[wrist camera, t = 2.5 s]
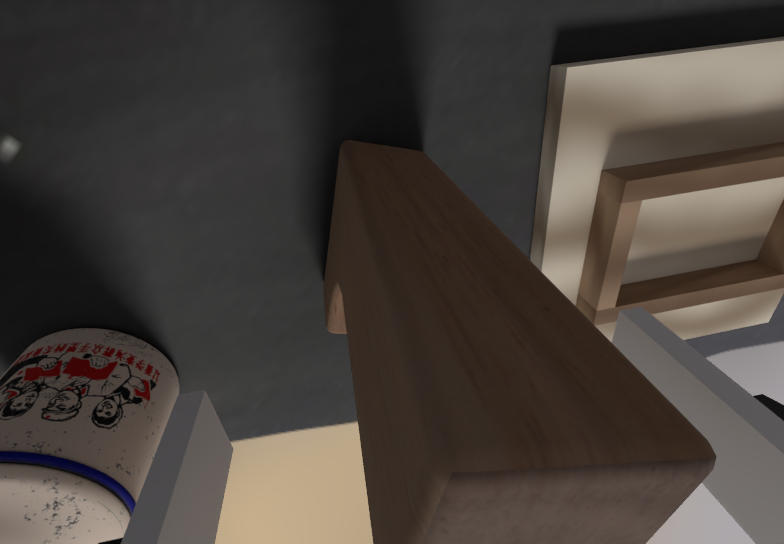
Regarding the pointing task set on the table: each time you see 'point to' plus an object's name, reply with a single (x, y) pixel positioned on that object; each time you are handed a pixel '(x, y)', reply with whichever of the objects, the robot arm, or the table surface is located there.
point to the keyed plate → (666, 186)
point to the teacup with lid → (79, 435)
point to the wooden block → (486, 378)
